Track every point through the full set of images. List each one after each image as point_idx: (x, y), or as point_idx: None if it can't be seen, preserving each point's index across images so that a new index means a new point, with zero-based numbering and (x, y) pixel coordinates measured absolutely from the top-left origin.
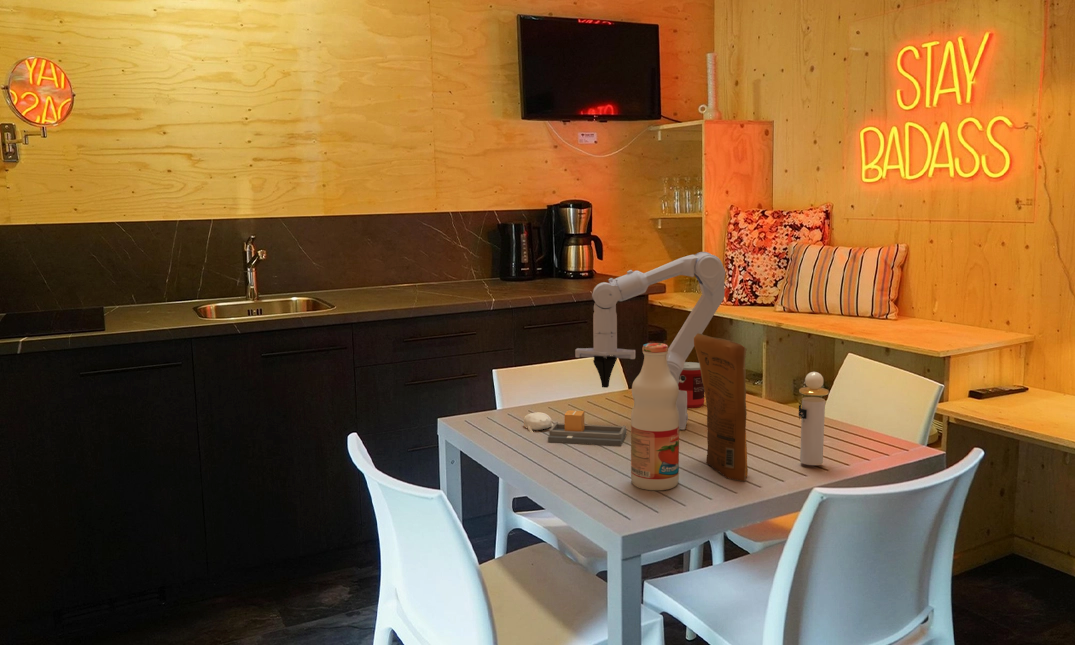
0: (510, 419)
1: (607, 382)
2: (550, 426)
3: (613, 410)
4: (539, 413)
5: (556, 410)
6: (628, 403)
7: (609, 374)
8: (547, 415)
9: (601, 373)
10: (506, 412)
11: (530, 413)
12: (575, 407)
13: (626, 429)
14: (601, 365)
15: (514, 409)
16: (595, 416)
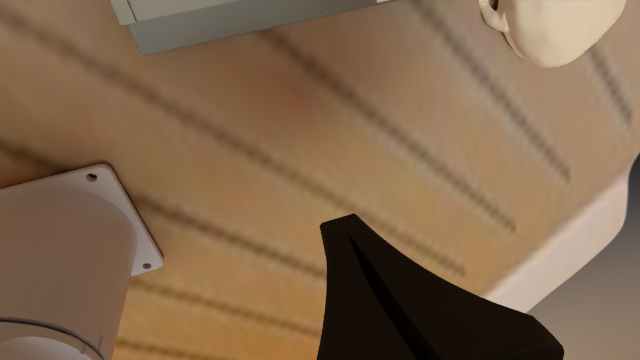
0: (630, 61)
1: (328, 243)
2: (497, 8)
3: None
4: (586, 4)
5: (490, 213)
6: (309, 350)
7: (328, 292)
8: (546, 10)
9: (400, 274)
10: (633, 131)
11: (617, 10)
12: (441, 260)
13: (140, 53)
14: (440, 331)
15: (607, 168)
16: (362, 213)
